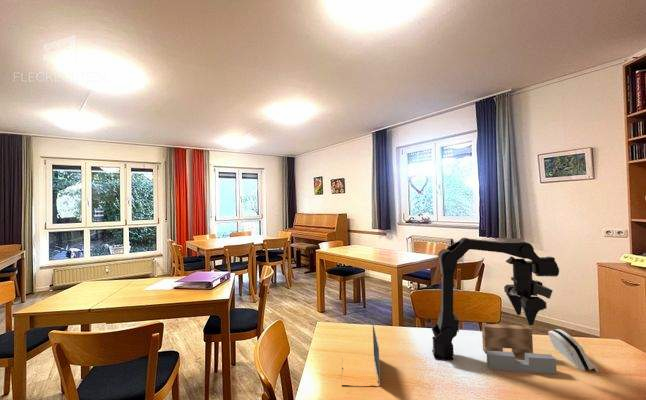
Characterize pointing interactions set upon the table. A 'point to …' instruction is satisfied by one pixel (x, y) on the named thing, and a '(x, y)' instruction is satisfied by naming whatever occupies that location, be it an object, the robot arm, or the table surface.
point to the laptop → (376, 354)
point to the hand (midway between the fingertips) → (524, 319)
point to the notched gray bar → (521, 362)
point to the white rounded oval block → (570, 349)
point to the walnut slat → (507, 338)
